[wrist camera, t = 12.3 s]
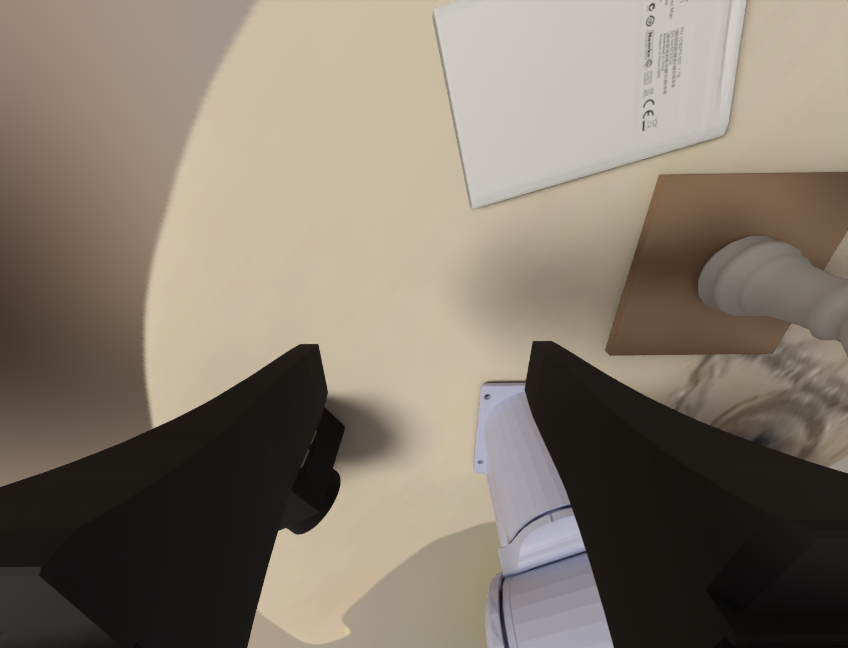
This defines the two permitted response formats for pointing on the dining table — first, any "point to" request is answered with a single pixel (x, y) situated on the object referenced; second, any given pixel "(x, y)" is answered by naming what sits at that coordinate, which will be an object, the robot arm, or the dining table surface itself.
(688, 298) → the walnut coaster
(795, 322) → the rook chess piece
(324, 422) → the digital camera
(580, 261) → the dining table surface
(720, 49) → the external hard drive
